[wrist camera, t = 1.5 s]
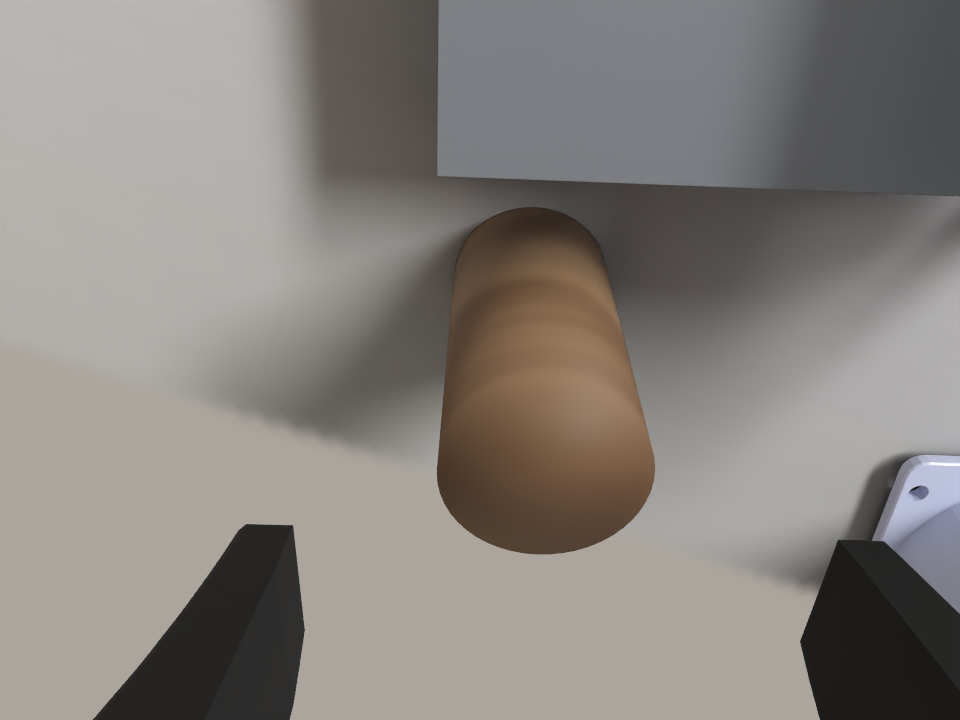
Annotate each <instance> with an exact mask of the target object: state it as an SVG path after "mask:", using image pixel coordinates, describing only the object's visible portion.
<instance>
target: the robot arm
mask: <svg viewBox="0 0 960 720" xmlns="http://www.w3.org/2000/svg"><path fill="white" fill-rule="evenodd" d="M916 486H920V487H919V488H917V489H915V490H912V491H910V490H911V489H912V488H914V487H916ZM304 631H305V629H304V621H303V612H302V602H301V593H300V584H299V575H298V567H297V558H296V548H295V540H294V531H293V526H292V525H256V524H246V525H245V526H243V527H242V528H241V529H240V530H239V531H238V532H237V534H236V535H235V537H234V538H233V540H232V541H231V543H230V544H229V546H228V547H227V549H226V550H225V552H224V553H223V555H222V556H221V558H220V559H219V561H218V562H217V563H216V565H215V566H214V568H213V569H212V571H211V572H210V573H209V575H208V576H207V578H206V579H205V581H204V582H203V584H202V585H201V586H200V587H199V589H198V590H197V592H196V593H195V594H194V596H193V597H192V598H191V600H190V601H189V603H188V604H187V605H186V607H185V608H184V609H183V611H182V612H181V613H180V614H179V616H178V617H177V618H176V620H175V621H174V622H173V624H172V625H171V626H170V627H169V629H168V630H167V631H166V633H165V634H164V635H163V636H162V638H161V639H160V640H159V641H158V643H157V644H156V645H155V647H154V648H153V649H152V650H151V652H150V653H149V654H148V655H147V657H146V658H145V659H144V661H143V662H142V663H141V664H140V665H139V667H138V668H137V669H136V670H135V672H134V673H133V674H132V675H131V676H130V677H129V678H128V680H127V681H126V682H125V683H124V684H123V685H122V687H121V688H120V689H119V690H118V691H117V692H116V693H115V695H114V696H113V697H112V698H111V699H110V700H109V702H108V703H107V704H106V705H105V706H104V707H103V709H102V710H101V711H100V712H99V713H98V714H97V716H96V717H95V718H94V719H93V720H289V719H290V715H291V711H292V708H293V703H294V697H295V691H296V684H297V678H298V672H299V665H300V658H301V651H302V645H303V638H304ZM800 643H801V647H802V651H803V656H804V660H805V664H806V668H807V672H808V676H809V681H810V684H811V688H812V692H813V696H814V699H815V703H816V707H817V710H818V714H819V717H820V720H960V456H942V455H919V456H915V457H913V458H910V459H909V460H907V461H906V462H905V463H903V465H902V466H901V468H900V470H899V472H898V475H897V477H896V480H895V482H894V485H893V487H892V490H891V493H890V495H889V498H888V500H887V503H886V505H885V508H884V510H883V513H882V516H881V518H880V521H879V523H878V526H877V528H876V531H875V533H874V536H873V539H872V541H861V540H838V542H837V545H836V547H835V550H834V553H833V555H832V558H831V561H830V563H829V566H828V569H827V571H826V574H825V577H824V579H823V582H822V585H821V587H820V590H819V593H818V595H817V598H816V601H815V603H814V606H813V609H812V611H811V614H810V617H809V619H808V622H807V625H806V627H805V630H804V633H803V635H802V638H801V641H800Z"/></svg>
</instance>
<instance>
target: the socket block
mask: <svg viewBox="0 0 960 720" xmlns="http://www.w3.org/2000/svg"><path fill="white" fill-rule="evenodd" d="M437 176H450V177H476V178H502V179H528V180H554V181H579V182H605V183H631V184H657V185H683V186H709V187H735V188H761V189H787V190H813V191H839V192H864V193H890V194H916V195H942V196H960V0H439V10H438V129H437Z"/></svg>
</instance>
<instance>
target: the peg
mask: <svg viewBox="0 0 960 720" xmlns="http://www.w3.org/2000/svg"><path fill="white" fill-rule="evenodd" d="M654 473H655V462H654V455H653V451H652V447H651V443H650V439H649V435H648V431H647V427H646V423H645V419H644V415H643V411H642V407H641V404H640V400H639V396H638V392H637V388H636V384H635V380H634V376H633V372H632V368H631V364H630V360H629V356H628V352H627V348H626V344H625V340H624V337H623V333H622V329H621V325H620V321H619V317H618V313H617V309H616V305H615V301H614V297H613V293H612V289H611V285H610V281H609V277H608V274H607V270H606V266H605V262H604V258H603V254H602V252H601V249H600V247H599V245H598V243H597V242H596V240H595V238H594V237H593V236H592V235H591V233H590V232H589V231H588V230H587V229H586V228H585V227H584V226H583V225H582V224H580V223H579V222H577V221H576V220H575V219H573V218H571V217H569V216H567V215H565V214H563V213H560V212H557V211H554V210H550V209H545V208H536V207H532V208H519V209H513V210H510V211H506V212H503V213H501V214H498V215H496V216H494V217H492V218H490V219H488V220H487V221H485V222H484V223H483V224H481V225H480V226H479V227H477V228H476V229H475V230H474V231H473V232H472V233H471V234H470V236H469V237H468V238H467V240H466V241H465V243H464V244H463V246H462V248H461V249H460V252H459V254H458V257H457V260H456V264H455V271H454V282H453V293H452V305H451V316H450V328H449V339H448V350H447V362H446V373H445V385H444V396H443V408H442V419H441V430H440V442H439V453H438V465H437V481H438V487H439V491H440V494H441V497H442V499H443V501H444V504H445V505H446V507H447V508H448V510H449V512H450V513H451V515H452V516H453V517H454V518H455V519H456V520H457V522H459V524H461V525H462V526H463V527H464V528H465V529H467V531H469V532H470V533H472V534H473V535H475V536H476V537H478V538H480V539H481V540H483V541H485V542H487V543H490V544H492V545H494V546H497V547H500V548H503V549H507V550H510V551H515V552H520V553H527V554H556V553H565V552H570V551H575V550H579V549H583V548H586V547H589V546H591V545H594V544H596V543H599V542H601V541H603V540H605V539H607V538H609V537H610V536H612V535H614V534H615V533H617V532H618V531H619V530H621V529H622V528H624V527H625V526H626V525H627V524H628V523H629V522H630V521H631V520H632V519H633V518H634V517H635V516H636V515H637V514H638V512H639V511H640V510H641V508H642V507H643V505H644V504H645V502H646V500H647V498H648V496H649V494H650V492H651V488H652V485H653V481H654Z"/></svg>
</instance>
